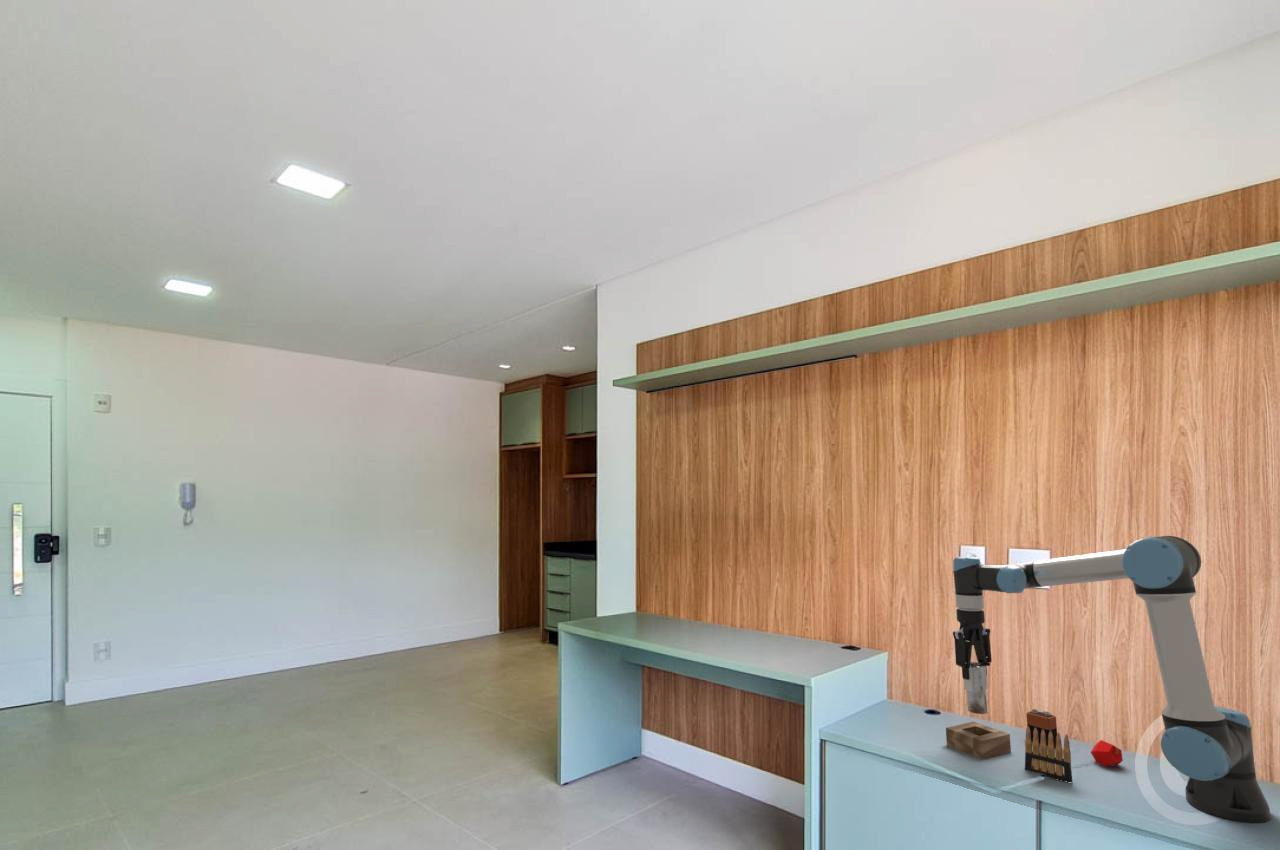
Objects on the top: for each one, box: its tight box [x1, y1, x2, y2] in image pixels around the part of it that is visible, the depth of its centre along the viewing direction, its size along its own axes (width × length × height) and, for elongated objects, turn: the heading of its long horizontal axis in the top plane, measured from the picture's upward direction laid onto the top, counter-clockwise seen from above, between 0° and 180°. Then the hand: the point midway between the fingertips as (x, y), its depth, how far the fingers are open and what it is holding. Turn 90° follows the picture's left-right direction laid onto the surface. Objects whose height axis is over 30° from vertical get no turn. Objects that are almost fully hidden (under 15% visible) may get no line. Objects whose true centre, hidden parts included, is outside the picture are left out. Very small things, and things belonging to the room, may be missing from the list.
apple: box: [1090, 739, 1124, 767], centre depth 183 cm, size 7×7×8 cm
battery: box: [1025, 708, 1058, 748], centre depth 198 cm, size 4×7×10 cm, turn 33°
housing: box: [945, 721, 1012, 760], centre depth 193 cm, size 12×12×6 cm
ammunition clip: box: [1024, 725, 1073, 783], centre depth 175 cm, size 11×2×12 cm, turn 52°
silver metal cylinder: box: [965, 661, 988, 715], centre depth 194 cm, size 5×5×14 cm
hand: (975, 689), depth 194 cm, fingers closed on silver metal cylinder, 5 cm apart
